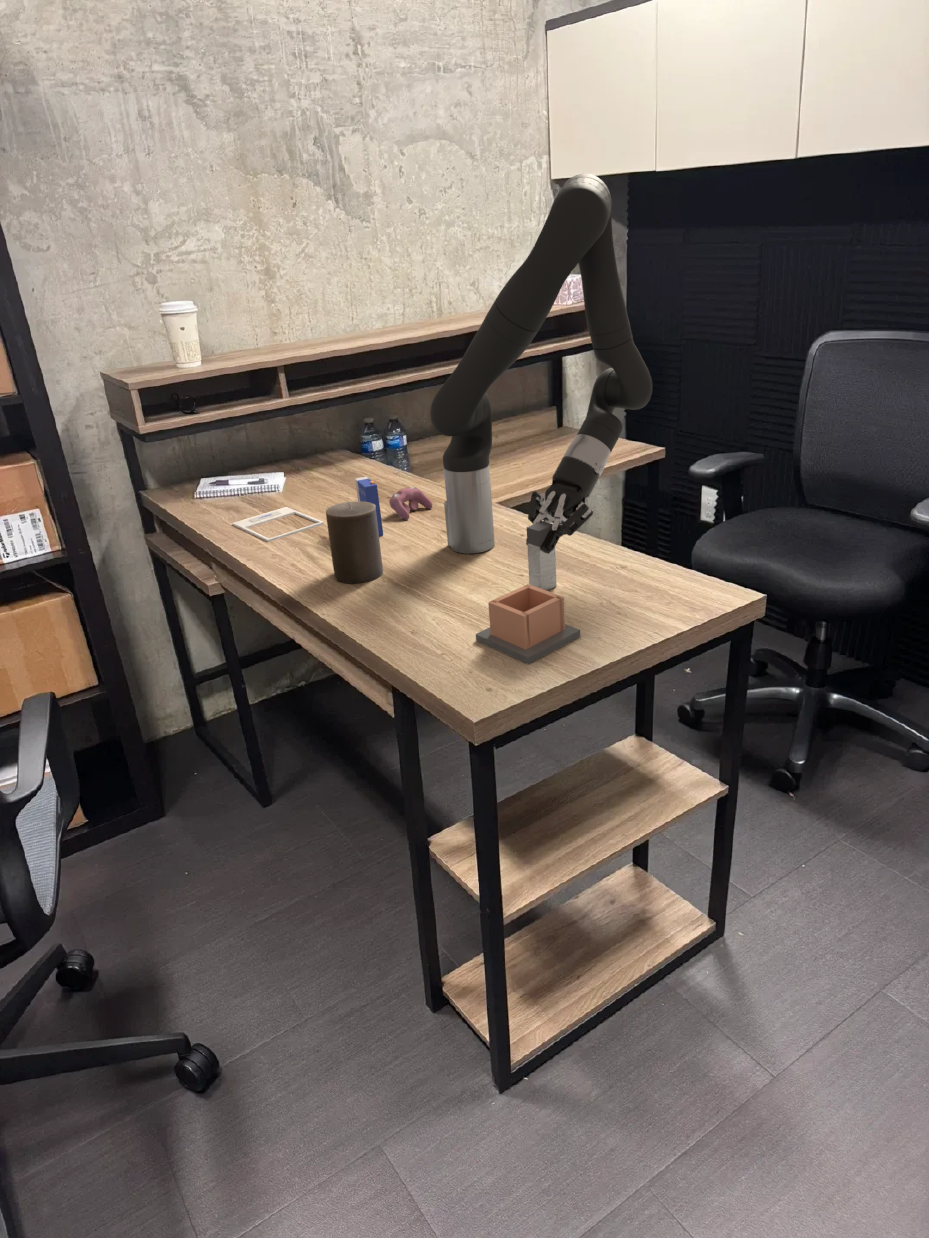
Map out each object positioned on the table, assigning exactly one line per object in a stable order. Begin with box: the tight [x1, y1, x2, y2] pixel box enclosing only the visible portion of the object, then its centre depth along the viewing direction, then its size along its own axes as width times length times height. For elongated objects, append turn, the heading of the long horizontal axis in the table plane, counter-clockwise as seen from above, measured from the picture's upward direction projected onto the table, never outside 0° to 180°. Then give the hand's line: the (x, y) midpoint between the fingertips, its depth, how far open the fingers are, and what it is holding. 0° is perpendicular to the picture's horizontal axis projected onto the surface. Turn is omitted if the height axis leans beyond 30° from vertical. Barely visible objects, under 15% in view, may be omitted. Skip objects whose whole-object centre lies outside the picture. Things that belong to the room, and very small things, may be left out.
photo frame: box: [232, 506, 325, 543], centre depth 197 cm, size 15×1×18 cm
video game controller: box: [389, 486, 433, 521], centre depth 196 cm, size 10×5×7 cm, turn 142°
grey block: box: [526, 520, 557, 591], centre depth 150 cm, size 3×4×12 cm
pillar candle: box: [325, 500, 384, 585], centre depth 162 cm, size 10×10×15 cm
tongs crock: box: [475, 583, 582, 665], centre depth 134 cm, size 12×12×7 cm
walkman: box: [354, 476, 384, 537], centre depth 185 cm, size 8×3×12 cm, turn 23°
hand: (537, 548), depth 149 cm, fingers closed on grey block, 3 cm apart
